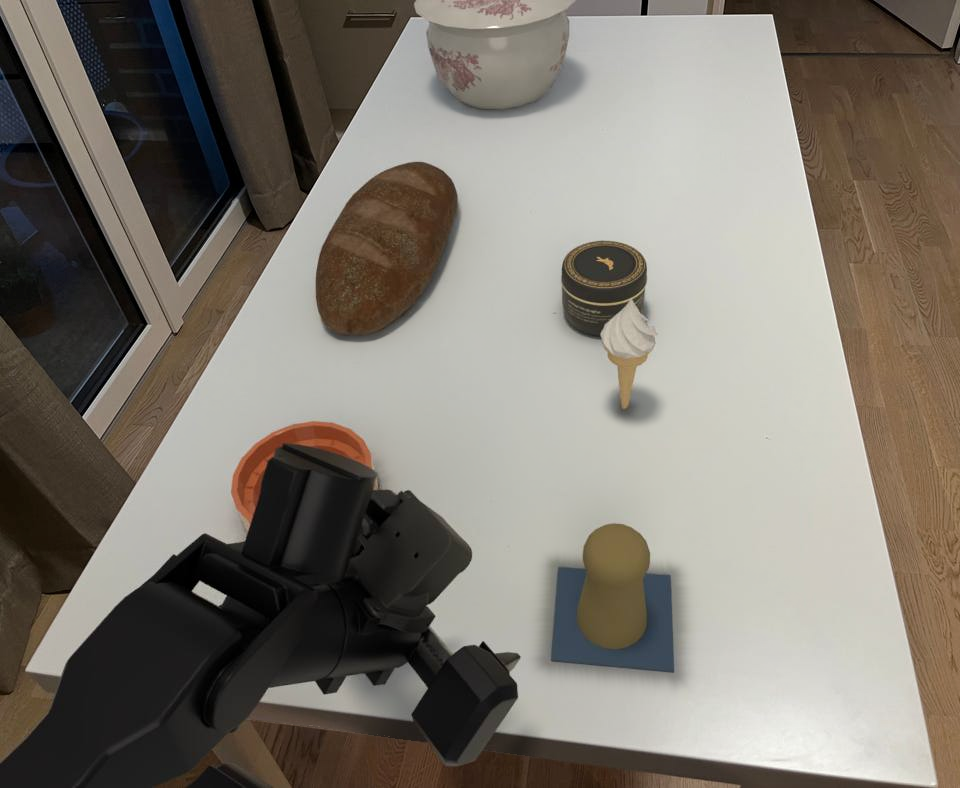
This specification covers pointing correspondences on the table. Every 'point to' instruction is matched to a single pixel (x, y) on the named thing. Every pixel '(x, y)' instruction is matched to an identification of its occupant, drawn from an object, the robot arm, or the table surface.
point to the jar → (601, 283)
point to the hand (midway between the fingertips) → (476, 615)
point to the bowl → (306, 434)
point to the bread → (384, 247)
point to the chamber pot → (496, 48)
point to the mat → (643, 654)
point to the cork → (614, 587)
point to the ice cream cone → (628, 345)
